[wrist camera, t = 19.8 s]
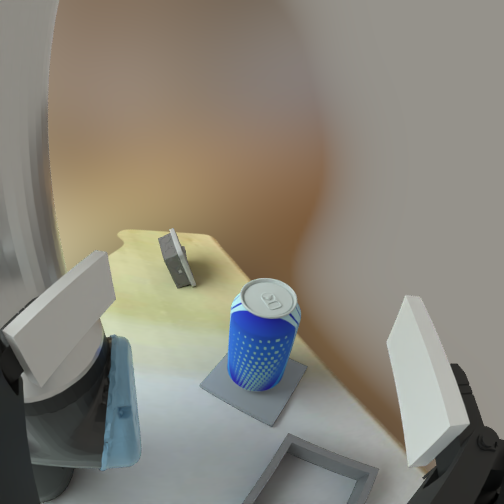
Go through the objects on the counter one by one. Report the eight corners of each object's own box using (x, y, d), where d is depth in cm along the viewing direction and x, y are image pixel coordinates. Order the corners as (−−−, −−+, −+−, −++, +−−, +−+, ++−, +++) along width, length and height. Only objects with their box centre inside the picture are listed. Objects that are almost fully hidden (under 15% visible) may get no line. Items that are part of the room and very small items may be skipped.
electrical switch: (197, 288, 59) (191, 249, 53) (171, 294, 57) (163, 256, 52) (186, 261, 66) (181, 224, 60) (163, 266, 64) (156, 230, 59)
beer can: (220, 387, 40) (222, 312, 31) (235, 345, 47) (242, 267, 38) (277, 401, 39) (301, 330, 30) (286, 357, 46) (307, 281, 37)
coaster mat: (271, 426, 36) (272, 425, 36) (199, 386, 41) (199, 384, 40) (306, 368, 45) (307, 366, 45) (242, 337, 50) (242, 335, 49)
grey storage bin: (326, 555, 20) (337, 556, 18) (231, 517, 25) (232, 515, 22) (366, 476, 29) (379, 468, 27) (282, 442, 34) (288, 432, 32)
